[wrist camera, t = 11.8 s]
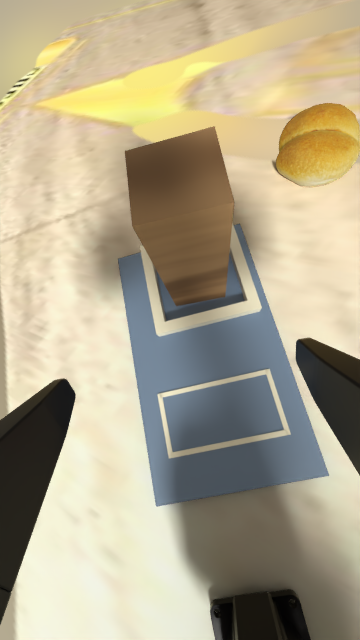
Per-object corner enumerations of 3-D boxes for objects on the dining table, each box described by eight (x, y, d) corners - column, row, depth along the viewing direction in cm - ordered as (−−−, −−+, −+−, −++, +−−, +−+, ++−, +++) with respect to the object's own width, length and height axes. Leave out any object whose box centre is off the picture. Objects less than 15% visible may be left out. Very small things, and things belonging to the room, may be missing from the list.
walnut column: (225, 296, 22) (234, 202, 11) (176, 306, 23) (132, 226, 11) (215, 253, 24) (214, 126, 12) (169, 263, 24) (124, 151, 13)
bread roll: (271, 189, 26) (280, 157, 22) (280, 130, 28) (289, 91, 24) (351, 193, 24) (376, 158, 21) (354, 129, 26) (378, 87, 23)
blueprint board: (324, 471, 18) (337, 482, 16) (158, 501, 20) (152, 514, 18) (239, 228, 25) (240, 215, 23) (120, 262, 26) (113, 253, 25)
